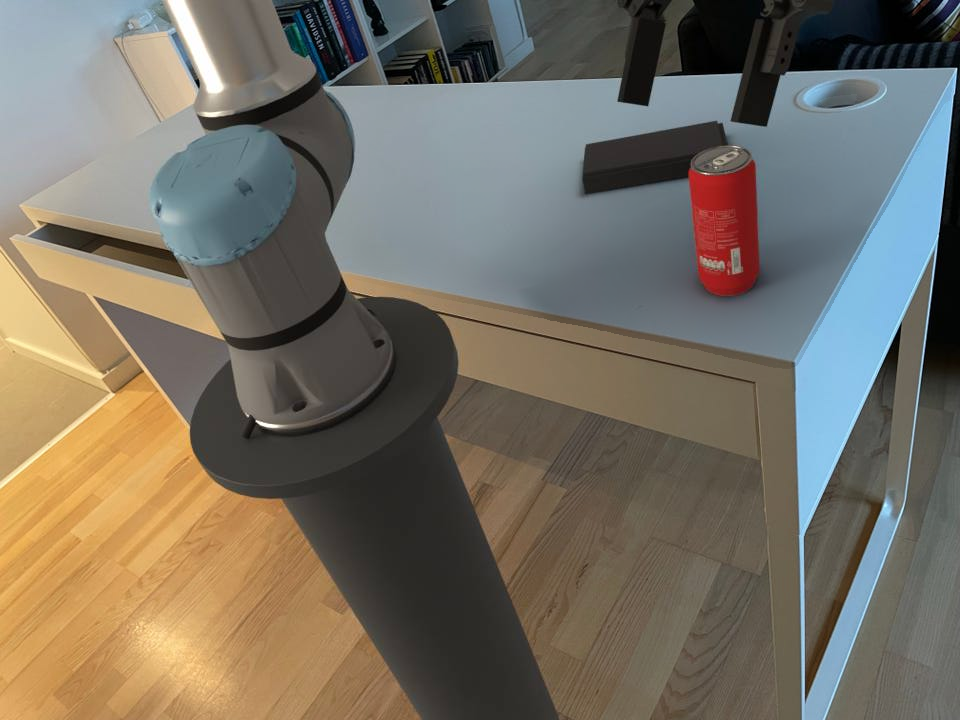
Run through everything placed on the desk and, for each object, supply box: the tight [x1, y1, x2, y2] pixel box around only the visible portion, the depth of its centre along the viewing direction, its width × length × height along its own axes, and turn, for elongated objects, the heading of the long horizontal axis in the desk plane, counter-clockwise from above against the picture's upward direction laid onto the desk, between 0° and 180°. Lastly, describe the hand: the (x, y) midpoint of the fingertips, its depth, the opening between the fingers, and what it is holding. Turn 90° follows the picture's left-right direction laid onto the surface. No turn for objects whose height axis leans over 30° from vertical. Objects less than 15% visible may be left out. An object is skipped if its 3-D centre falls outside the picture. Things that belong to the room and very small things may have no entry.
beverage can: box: [688, 145, 761, 297], centre depth 65 cm, size 5×5×12 cm
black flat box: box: [581, 120, 729, 194], centre depth 88 cm, size 16×8×2 cm, turn 82°
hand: (685, 113), depth 59 cm, fingers open, 13 cm apart
